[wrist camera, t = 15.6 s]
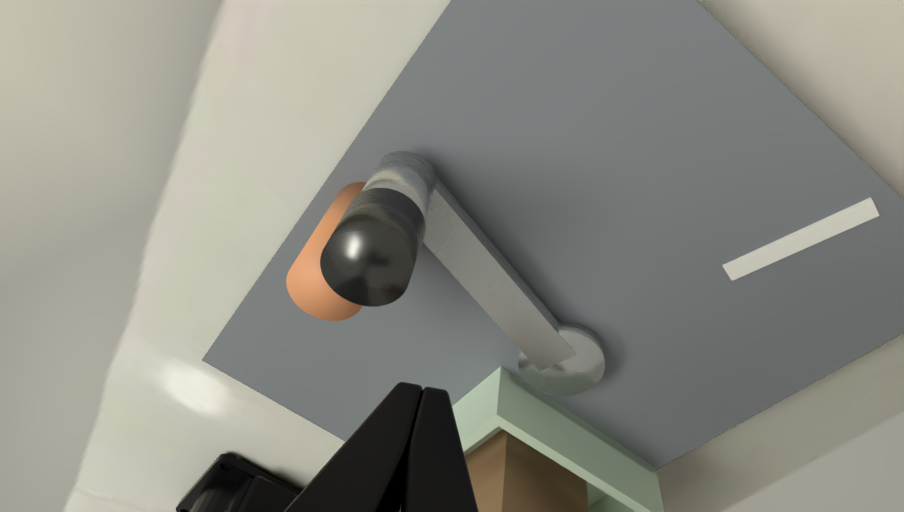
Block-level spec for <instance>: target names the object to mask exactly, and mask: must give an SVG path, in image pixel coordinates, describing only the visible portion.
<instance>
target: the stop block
mask: <svg viewBox="0 0 904 512" xmlns="http://www.w3.org/2000/svg"><path fill="white" fill-rule="evenodd" d="M465 460H466V464H467V468H468V472H469V476H470V480H471V483H472V487H473V491H474V495H475V499H476V503H477V507H478V511H479V512H589V511H588V496H587V482H586V480H584V479H583V478H581V477H579V476H578V475H576V474H575V473H573V472H571V471H570V470H568V469H567V468H565V467H563V466H562V465H560V464H558V463H557V462H555V461H554V460H552V459H550V458H549V457H547V456H546V455H544V454H542V453H541V452H539V451H538V450H536V449H534V448H533V447H531V446H529V445H528V444H526V443H525V442H523V441H521V440H520V439H518V438H517V437H515V436H513V435H512V434H510V433H509V432H507V431H505V430H504V429H502V430H500V431H499V432H498V433H496V434H495V435H493V436H492V437H491V438H489V439H488V440H487V441H485V442H484V443H482V444H481V445H480V446H478V447H477V448H476V449H474V450H473V451H472V452H470V453H469V454H467V455H466V456H465Z"/></svg>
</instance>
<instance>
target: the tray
mask: <svg viewBox="0 0 904 512" xmlns="http://www.w3.org/2000/svg"><path fill="white" fill-rule="evenodd" d="M452 408H453V412H454V416H455V420H456V424H457V428H458V432H459V436H460V440H461V444H462V448H463V452H464V456H466V455H467V454H469V453H470V452H472V451H473V450H474V449H476V448H477V447H478V446H480V445H481V444H482V443H484V442H485V441H487V440H488V439H489V438H491V437H492V436H493V435H495V434H496V433H498V432H499V431H500V430H502V429H504V430H505V431H507V432H509V433H510V434H512V435H513V436H515V437H517V438H518V439H520V440H521V441H523V442H525V443H526V444H528V445H529V446H531V447H533V448H534V449H536V450H538V451H539V452H541V453H542V454H544V455H546V456H547V457H549V458H550V459H552V460H554V461H555V462H557V463H558V464H560V465H562V466H563V467H565V468H567V469H568V470H570V471H571V472H573V473H575V474H576V475H578V476H579V477H581V478H583V479H584V480H586V482H587V496H588V511H589V512H664V508H663V503H662V497H661V492H660V486H659V481H658V476H657V470H656V467H654V466H652V465H651V464H649V463H648V462H646V461H645V460H643V459H642V458H640V457H639V456H637V455H636V454H634V453H633V452H631V451H630V450H628V449H627V448H625V447H623V446H622V445H620V444H619V443H617V442H616V441H614V440H613V439H611V438H610V437H608V436H607V435H605V434H604V433H602V432H601V431H599V430H598V429H596V428H594V427H593V426H591V425H590V424H588V423H587V422H585V421H584V420H582V419H581V418H579V417H578V416H576V415H575V414H573V413H572V412H570V411H569V410H567V409H565V408H564V407H562V406H561V405H559V404H558V403H556V402H555V401H553V400H552V399H550V398H549V397H547V396H546V395H544V394H543V393H541V392H540V391H538V390H536V389H534V388H532V387H531V386H530V385H529V384H527V383H526V382H524V381H523V380H521V379H520V378H518V377H517V376H515V375H514V374H512V373H511V372H509V371H507V370H506V369H504V368H503V367H501V366H500V367H499V368H498V369H497V370H496V371H494V372H493V373H492V374H491V375H490V376H488V377H487V378H486V379H485V380H483V381H482V382H481V383H480V384H479V385H477V386H476V387H475V388H474V389H473V390H471V391H470V392H469V393H468V394H466V395H465V396H464V397H463V398H462V399H460V400H459V401H458V402H457V403H456V404H454V405H453V406H452ZM400 512H401V510H400Z"/></svg>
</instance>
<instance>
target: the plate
mask: <svg viewBox="0 0 904 512" xmlns="http://www.w3.org/2000/svg"><path fill="white" fill-rule="evenodd" d="M395 151H409V152H413V153H415V154H417V155H420V156H421V157H423V158H424V159H425V160H426V161H427V162H428V163H429V164H430V165H431V166H432V168H433V170H434V172H435V174H436V177H437V178H438V179H439V180H440V182H441V183H442V184H443V185H444V186H445V188H446V189H447V190H448V191H449V192H450V193H451V195H452V196H453V197H454V198H455V199H456V201H457V202H458V203H459V204H460V205H461V207H462V208H463V209H464V210H465V211H466V213H467V214H468V215H469V216H470V217H471V219H472V220H473V221H474V222H475V223H476V224H477V226H478V227H479V228H480V229H481V230H482V232H483V233H484V234H485V235H486V236H487V238H488V239H489V240H490V241H491V242H492V244H493V245H494V246H495V247H496V248H497V250H498V251H499V252H500V253H501V254H502V255H503V257H504V258H505V259H506V260H507V261H508V263H509V264H510V265H511V266H512V267H513V269H514V270H515V271H516V272H517V273H518V275H519V276H520V277H521V278H522V279H523V281H524V282H525V283H526V284H527V285H528V286H529V288H530V289H531V290H532V291H533V292H534V294H535V295H536V296H537V297H538V298H539V300H540V301H541V302H542V303H543V304H544V306H545V307H546V308H547V309H548V310H549V312H550V313H551V314H552V315H553V316H554V317H555V319H556V320H557V321H558V322H571V323H575V324H578V325H581V326H583V327H585V328H587V329H589V330H590V331H592V332H593V333H594V334H595V335H596V336H597V337H598V339H599V340H600V342H601V344H602V347H603V352H604V361H605V370H604V374H603V376H602V378H601V379H600V381H599V382H598V383H597V384H596V385H595V386H594V387H592V388H591V389H589V390H587V391H585V392H583V393H580V394H576V395H571V396H555V395H549V394H545V393H543V394H544V395H546V396H547V397H549V398H550V399H552V400H553V401H555V402H556V403H558V404H559V405H561V406H562V407H564V408H565V409H567V410H569V411H570V412H572V413H573V414H575V415H576V416H578V417H579V418H581V419H582V420H584V421H585V422H587V423H588V424H590V425H591V426H593V427H594V428H596V429H598V430H599V431H601V432H602V433H604V434H605V435H607V436H608V437H610V438H611V439H613V440H614V441H616V442H617V443H619V444H620V445H622V446H623V447H625V448H627V449H628V450H630V451H631V452H633V453H634V454H636V455H637V456H639V457H640V458H642V459H643V460H645V461H646V462H648V463H649V464H651V465H652V466H654V467H656V470H657V469H659V468H661V467H662V466H664V465H666V464H668V463H670V462H671V461H673V460H675V459H677V458H679V457H680V456H682V455H684V454H686V453H688V452H689V451H691V450H693V449H695V448H697V447H698V446H700V445H702V444H704V443H706V442H708V441H709V440H711V439H713V438H715V437H717V436H718V435H720V434H722V433H724V432H726V431H727V430H729V429H731V428H733V427H735V426H736V425H738V424H740V423H742V422H744V421H745V420H747V419H749V418H751V417H753V416H754V415H756V414H758V413H760V412H762V411H763V410H765V409H767V408H769V407H771V406H772V405H774V404H776V403H778V402H780V401H782V400H783V399H785V398H787V397H789V396H791V395H792V394H794V393H796V392H798V391H800V390H801V389H803V388H805V387H807V386H809V385H810V384H812V383H814V382H816V381H818V380H819V379H821V378H823V377H825V376H827V375H828V374H830V373H832V372H834V371H836V370H837V369H839V368H841V367H843V366H845V365H846V364H848V363H850V362H852V361H854V360H856V359H857V358H859V357H861V356H863V355H865V354H866V353H868V352H870V351H872V350H874V349H875V348H877V347H879V346H881V345H883V344H884V343H886V342H888V341H890V340H892V339H893V338H895V337H897V336H899V335H901V334H902V333H904V199H903V198H902V197H901V196H900V195H899V194H898V193H897V192H896V191H894V190H893V189H892V188H891V187H890V186H889V185H888V184H887V183H886V182H885V181H884V180H883V179H882V178H881V177H880V176H879V175H878V174H877V173H876V172H875V171H874V170H873V169H872V168H871V167H869V166H868V165H867V164H866V163H865V162H864V161H863V160H862V159H861V158H860V157H859V156H858V155H857V154H856V153H855V152H854V151H853V150H852V149H851V148H850V147H849V146H848V145H847V144H846V143H844V142H843V141H842V140H841V139H840V138H839V137H838V136H837V135H836V134H835V133H834V132H833V131H832V130H831V129H830V128H829V127H828V126H827V125H826V124H825V123H824V122H823V121H822V120H821V119H819V118H818V117H817V116H816V115H815V114H814V113H813V112H812V111H811V110H810V109H809V108H808V107H807V106H806V105H805V104H804V103H803V102H802V101H801V100H800V99H799V98H798V97H797V96H796V95H794V94H793V93H792V92H791V91H790V90H789V89H788V88H787V87H786V86H785V85H784V84H783V83H782V82H781V81H780V80H779V79H778V78H777V77H776V76H775V75H774V74H773V73H772V72H771V71H769V70H768V69H767V68H766V67H765V66H764V65H763V64H762V63H761V62H760V61H759V60H758V59H757V58H756V57H755V56H754V55H753V54H752V53H751V52H750V51H749V50H748V49H747V48H746V47H744V46H743V45H742V44H741V43H740V42H739V41H738V40H737V39H736V38H735V37H734V36H733V35H732V34H731V33H730V32H729V31H728V30H727V29H726V28H725V27H724V26H723V25H722V24H721V23H720V22H718V21H717V20H716V19H715V18H714V17H713V16H712V15H711V14H710V13H709V12H708V11H707V10H706V9H705V8H704V7H703V6H702V5H701V4H700V3H699V2H698V1H697V0H451V2H450V3H449V4H448V6H447V7H446V9H445V10H444V12H443V13H442V15H441V16H440V17H439V19H438V20H437V22H436V23H435V25H434V26H433V28H432V29H431V30H430V32H429V33H428V35H427V36H426V38H425V39H424V41H423V42H422V43H421V45H420V46H419V48H418V49H417V51H416V52H415V53H414V55H413V56H412V58H411V59H410V61H409V62H408V64H407V65H406V66H405V68H404V69H403V71H402V72H401V74H400V75H399V77H398V78H397V79H396V81H395V82H394V84H393V85H392V87H391V88H390V89H389V91H388V92H387V94H386V95H385V97H384V98H383V100H382V101H381V102H380V104H379V105H378V107H377V108H376V110H375V111H374V113H373V114H372V115H371V117H370V118H369V120H368V121H367V123H366V124H365V126H364V127H363V128H362V130H361V131H360V133H359V134H358V136H357V137H356V138H355V140H354V141H353V143H352V144H351V146H350V147H349V149H348V150H347V151H346V153H345V154H344V156H343V157H342V159H341V160H340V162H339V163H338V164H337V166H336V167H335V169H334V170H333V172H332V173H331V175H330V176H329V177H328V179H327V180H326V182H325V183H324V185H323V186H322V187H321V189H320V190H319V192H318V193H317V195H316V196H315V198H314V199H313V200H312V202H311V203H310V205H309V206H308V208H307V209H306V211H305V212H304V213H303V215H302V216H301V218H300V219H299V221H298V222H297V224H296V225H295V226H294V228H293V229H292V231H291V232H290V234H289V235H288V236H287V238H286V239H285V241H284V242H283V244H282V245H281V247H280V248H279V249H278V251H277V252H276V254H275V255H274V257H273V258H272V260H271V261H270V262H269V264H268V265H267V267H266V268H265V270H264V271H263V272H262V274H261V275H260V277H259V278H258V280H257V281H256V283H255V284H254V285H253V287H252V288H251V290H250V291H249V293H248V294H247V296H246V297H245V298H244V300H243V301H242V303H241V304H240V306H239V307H238V309H237V310H236V311H235V313H234V314H233V316H232V317H231V319H230V320H229V321H228V323H227V324H226V326H225V327H224V329H223V330H222V332H221V333H220V334H219V336H218V337H217V339H216V340H215V342H214V343H213V345H212V346H211V347H210V349H209V350H208V352H207V353H206V355H205V356H204V358H203V359H202V361H204V362H206V363H208V364H209V365H211V366H213V367H215V368H217V369H218V370H220V371H222V372H224V373H225V374H227V375H229V376H231V377H232V378H234V379H236V380H238V381H240V382H241V383H243V384H245V385H247V386H248V387H250V388H252V389H254V390H255V391H257V392H259V393H261V394H263V395H264V396H266V397H268V398H270V399H271V400H273V401H275V402H277V403H278V404H280V405H282V406H284V407H286V408H287V409H289V410H291V411H293V412H294V413H296V414H298V415H300V416H301V417H303V418H305V419H307V420H309V421H310V422H312V423H314V424H316V425H317V426H319V427H321V428H323V429H324V430H326V431H328V432H330V433H332V434H333V435H335V436H337V437H339V438H340V439H342V440H344V441H347V440H348V439H349V438H350V436H351V435H352V434H353V433H354V432H355V431H356V430H357V428H358V427H359V426H360V425H361V424H362V423H363V422H364V421H365V419H366V418H367V417H368V416H369V415H370V414H371V413H372V412H373V410H374V409H375V408H376V407H377V406H378V405H379V404H380V403H381V401H382V400H383V399H384V398H385V397H386V396H387V395H388V393H389V392H390V391H391V390H392V389H393V388H394V387H395V386H396V385H397V384H398V383H399V382H406V383H412V384H417V385H420V386H421V387H422V388H423V389H424V388H425V387H433V388H439V389H444V390H446V391H447V392H448V394H449V397H450V401H451V404H452V406H453V405H454V404H456V403H457V402H458V401H459V400H460V399H462V398H463V397H464V396H465V395H466V394H468V393H469V392H470V391H471V390H473V389H474V388H475V387H476V386H477V385H479V384H480V383H481V382H482V381H483V380H485V379H486V378H487V377H488V376H490V375H491V374H492V373H493V372H494V371H496V370H497V369H498V368H499V367H500V366H501V367H503V368H504V369H506V370H507V371H509V372H511V373H512V374H514V375H515V376H517V377H518V378H520V379H521V380H523V381H524V382H525V380H524V379H523V378H522V376H521V374H520V372H519V368H518V356H519V348H518V347H517V346H516V345H515V344H514V342H513V341H512V340H511V339H510V338H509V337H508V336H507V335H506V334H505V332H504V331H503V330H502V329H501V328H500V327H499V326H498V325H497V324H496V322H495V321H494V320H493V319H492V318H491V317H490V316H489V315H488V314H487V312H486V311H485V310H484V309H483V308H482V307H481V306H480V305H479V304H478V302H477V301H476V300H475V299H474V298H473V297H472V296H471V295H470V294H469V292H468V291H467V290H466V289H465V288H464V287H463V286H462V285H461V284H460V282H459V281H458V280H457V279H456V278H455V277H454V276H453V275H452V274H451V272H450V271H449V270H448V269H447V268H446V267H445V266H444V265H443V264H442V263H441V261H440V260H439V259H438V258H437V257H436V256H435V255H434V254H433V253H432V251H431V250H430V249H429V248H428V247H427V246H426V245H425V244H424V243H423V242H422V245H421V248H420V251H419V254H418V257H417V260H416V264H415V267H414V270H413V273H412V276H411V279H410V282H409V285H408V288H407V289H406V291H405V293H404V294H403V295H402V296H401V297H400V298H399V299H397V300H396V301H394V302H392V303H390V304H387V305H384V306H377V307H368V306H362V305H358V304H355V303H352V302H350V301H347V300H346V299H344V298H342V297H341V296H339V295H338V294H337V293H336V292H334V291H333V290H332V289H331V288H330V286H329V285H328V284H327V282H326V281H325V279H324V277H323V275H322V272H321V267H320V257H321V253H322V251H323V249H324V247H325V245H326V243H327V242H328V240H329V238H330V237H331V235H332V233H333V232H334V230H335V228H336V226H337V225H338V223H339V221H340V220H341V218H342V216H343V214H344V213H345V211H346V209H347V208H348V206H349V204H350V203H351V201H352V200H353V199H354V197H356V196H357V195H358V194H360V193H361V192H362V190H363V188H364V186H365V185H366V183H367V181H368V179H369V178H370V176H371V174H372V172H373V171H374V169H375V167H376V165H377V164H378V162H379V161H380V160H381V159H382V158H383V157H384V156H385V155H387V154H389V153H392V152H395ZM541 393H542V392H541Z"/></svg>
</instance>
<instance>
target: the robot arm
mask: <svg viewBox="0 0 904 512" xmlns="http://www.w3.org/2000/svg"><path fill="white" fill-rule="evenodd" d="M400 510H401V512H479V511H478V507H477V503H476V499H475V495H474V491H473V487H472V483H471V480H470V476H469V472H468V468H467V464H466V460H465V456H464V452H463V448H462V444H461V440H460V436H459V432H458V428H457V424H456V420H455V416H454V412H453V408H452V404H451V401H450V397H449V394H448V392H447V391H446V390H444V389H439V388H433V387H425V388H424V389H423V388H422V387H421V386H420V385H417V384H412V383H406V382H399V383H398V384H397V385H396V386H395V387H394V388H393V389H392V390H391V391H390V392H389V393H388V395H387V396H386V397H385V398H384V399H383V400H382V401H381V403H380V404H379V405H378V406H377V407H376V408H375V409H374V410H373V412H372V413H371V414H370V415H369V416H368V417H367V418H366V419H365V421H364V422H363V423H362V424H361V425H360V426H359V427H358V428H357V430H356V431H355V432H354V433H353V434H352V435H351V436H350V438H349V439H348V440H347V441H346V442H345V443H344V444H343V445H342V447H341V448H340V449H339V450H338V451H337V452H336V453H335V454H334V456H333V457H332V458H331V459H330V460H329V461H328V462H327V464H326V465H325V466H324V467H323V468H322V469H321V470H320V471H319V473H318V474H317V475H316V476H315V477H314V478H313V479H312V480H311V482H310V483H309V484H308V485H307V486H306V487H305V488H304V490H303V491H302V492H300V491H299V490H297V489H295V488H293V487H291V486H289V485H287V484H285V483H283V482H282V481H280V480H278V479H276V478H274V477H272V476H270V475H268V474H266V473H264V472H263V471H261V470H259V469H257V468H255V467H253V466H251V465H249V464H247V463H246V462H244V461H242V460H240V459H238V458H236V457H234V456H232V455H230V454H221V455H220V456H219V457H218V458H217V459H216V460H215V461H214V462H213V464H212V465H211V466H210V467H209V468H208V469H207V471H206V472H205V473H204V474H203V475H202V476H201V477H200V479H199V480H198V481H197V482H196V483H195V484H194V486H193V487H192V488H191V489H190V490H189V491H188V493H187V494H186V495H185V496H184V497H183V498H182V499H181V501H180V502H179V504H178V506H177V507H176V511H177V512H400Z"/></svg>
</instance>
